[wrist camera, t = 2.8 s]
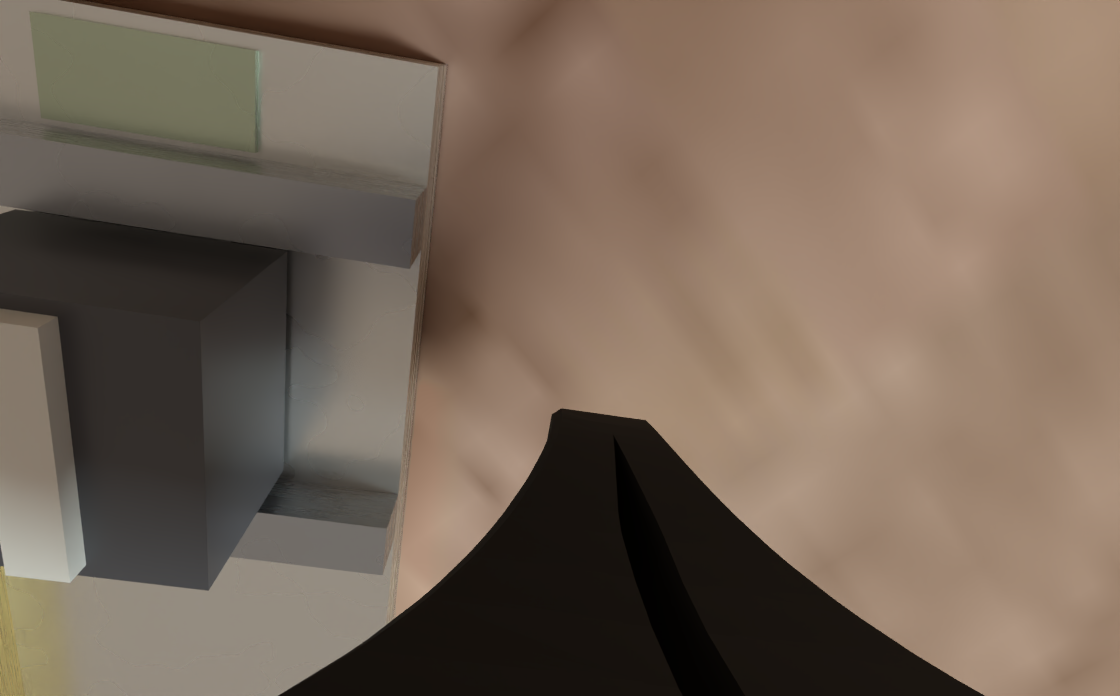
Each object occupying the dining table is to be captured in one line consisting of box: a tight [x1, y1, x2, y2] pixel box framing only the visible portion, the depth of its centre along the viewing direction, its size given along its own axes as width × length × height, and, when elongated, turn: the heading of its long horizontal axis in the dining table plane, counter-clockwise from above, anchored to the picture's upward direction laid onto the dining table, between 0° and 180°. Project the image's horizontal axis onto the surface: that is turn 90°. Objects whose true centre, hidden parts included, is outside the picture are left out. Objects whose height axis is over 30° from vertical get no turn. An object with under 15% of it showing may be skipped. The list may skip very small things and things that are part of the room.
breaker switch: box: [0, 209, 287, 591], centre depth 10 cm, size 4×4×3 cm
